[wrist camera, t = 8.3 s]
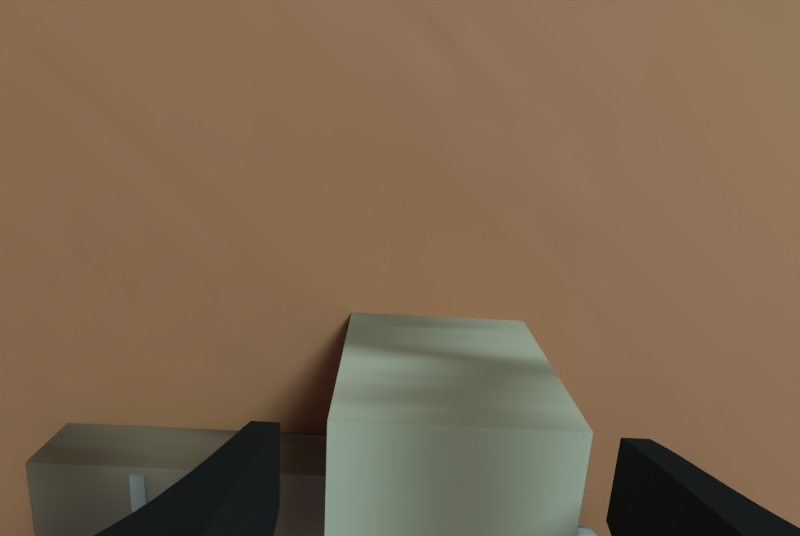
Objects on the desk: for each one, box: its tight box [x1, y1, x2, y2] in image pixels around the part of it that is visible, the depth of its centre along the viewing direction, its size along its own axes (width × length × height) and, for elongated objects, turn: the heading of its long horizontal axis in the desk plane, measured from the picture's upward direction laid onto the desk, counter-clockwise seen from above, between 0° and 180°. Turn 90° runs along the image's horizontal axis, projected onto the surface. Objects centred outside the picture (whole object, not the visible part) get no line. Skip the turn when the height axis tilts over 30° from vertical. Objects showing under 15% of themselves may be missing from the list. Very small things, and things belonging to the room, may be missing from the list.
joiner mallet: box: [324, 313, 593, 536], centre depth 14 cm, size 5×8×6 cm, turn 177°
